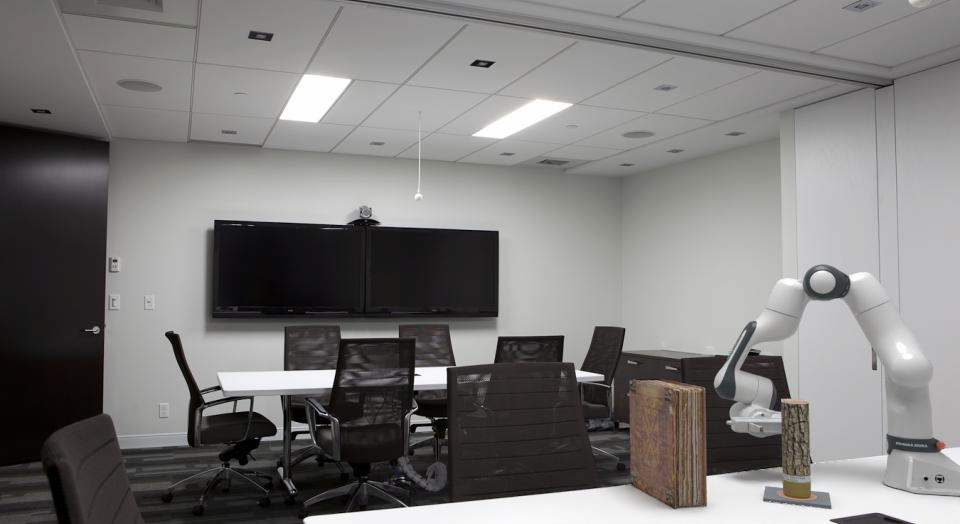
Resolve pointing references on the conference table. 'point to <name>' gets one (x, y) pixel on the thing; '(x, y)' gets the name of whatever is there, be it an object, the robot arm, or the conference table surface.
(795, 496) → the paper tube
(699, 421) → the book
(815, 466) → the conference table surface
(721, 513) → the conference table surface
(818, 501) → the card
